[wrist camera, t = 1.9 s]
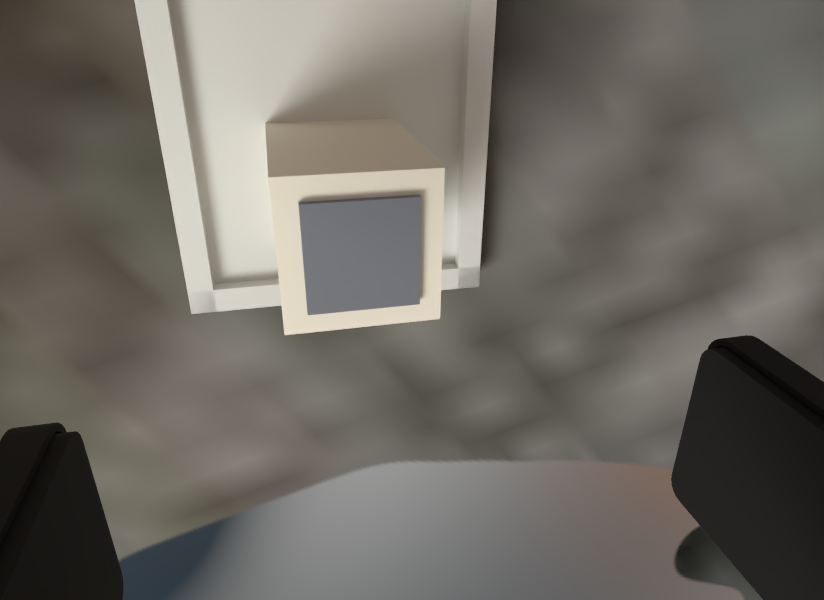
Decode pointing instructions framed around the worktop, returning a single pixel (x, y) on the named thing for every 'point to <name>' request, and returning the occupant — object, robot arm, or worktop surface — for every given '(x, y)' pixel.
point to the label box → (354, 224)
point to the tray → (308, 116)
